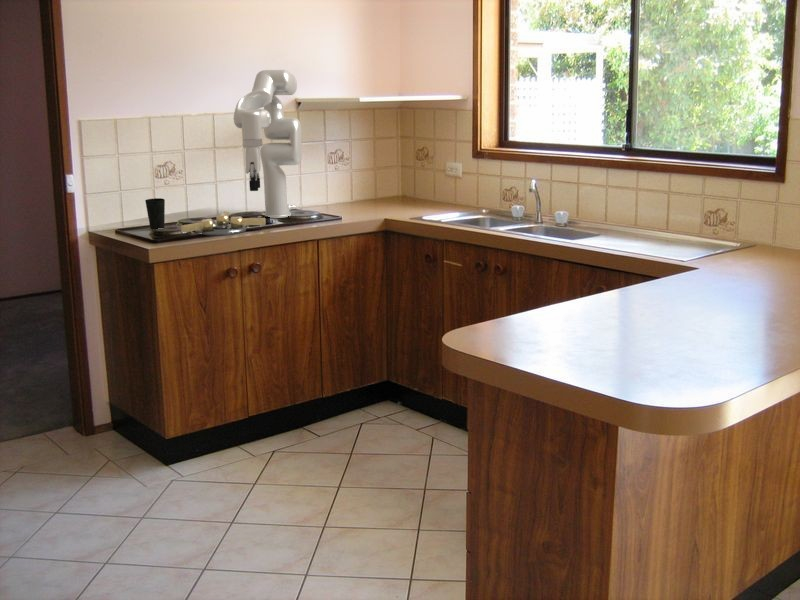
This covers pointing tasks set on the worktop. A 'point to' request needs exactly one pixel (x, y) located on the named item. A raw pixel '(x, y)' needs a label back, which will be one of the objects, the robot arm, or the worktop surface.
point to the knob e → (198, 226)
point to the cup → (156, 212)
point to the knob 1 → (223, 218)
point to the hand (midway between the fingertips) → (255, 189)
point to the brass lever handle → (246, 221)
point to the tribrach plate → (222, 230)
